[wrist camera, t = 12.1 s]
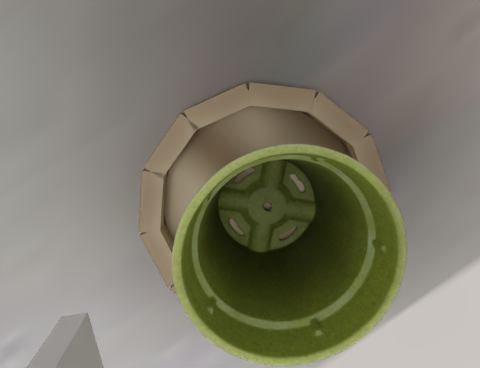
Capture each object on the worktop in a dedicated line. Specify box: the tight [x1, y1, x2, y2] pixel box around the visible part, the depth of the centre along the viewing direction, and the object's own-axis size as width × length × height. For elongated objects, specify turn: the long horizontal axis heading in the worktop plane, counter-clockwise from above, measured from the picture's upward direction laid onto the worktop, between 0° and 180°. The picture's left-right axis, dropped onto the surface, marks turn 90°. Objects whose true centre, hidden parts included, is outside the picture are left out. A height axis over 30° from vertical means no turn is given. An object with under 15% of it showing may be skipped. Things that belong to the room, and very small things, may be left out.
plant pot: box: [172, 144, 407, 366], centre depth 19 cm, size 9×9×9 cm
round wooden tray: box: [139, 82, 391, 294], centre depth 23 cm, size 14×14×2 cm
